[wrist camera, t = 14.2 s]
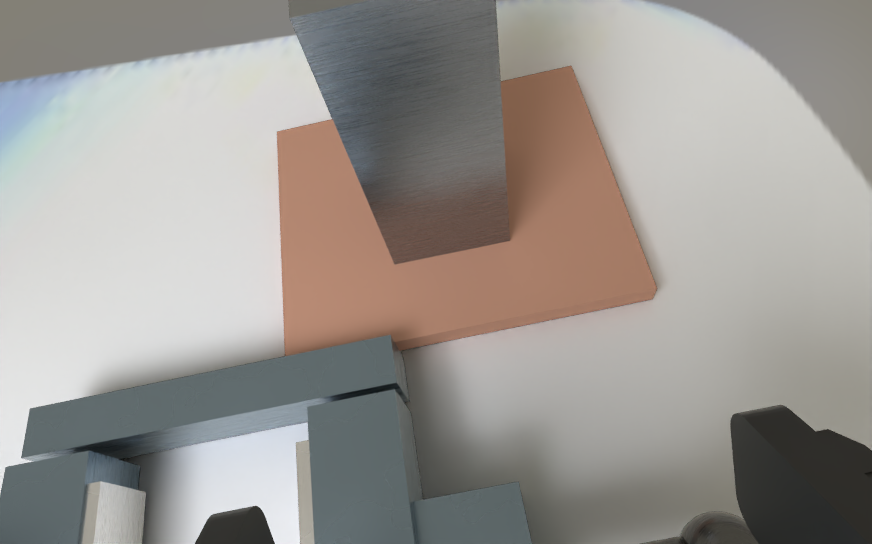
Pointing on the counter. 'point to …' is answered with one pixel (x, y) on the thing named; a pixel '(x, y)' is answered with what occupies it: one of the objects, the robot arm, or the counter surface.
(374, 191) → the gray rectangular prism
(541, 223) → the mat
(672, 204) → the counter surface
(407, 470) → the vise
